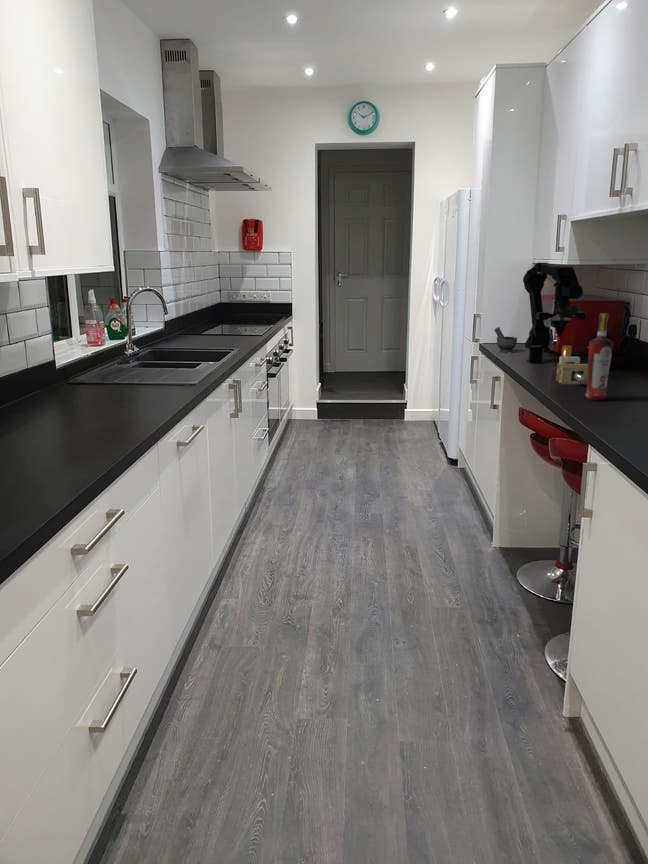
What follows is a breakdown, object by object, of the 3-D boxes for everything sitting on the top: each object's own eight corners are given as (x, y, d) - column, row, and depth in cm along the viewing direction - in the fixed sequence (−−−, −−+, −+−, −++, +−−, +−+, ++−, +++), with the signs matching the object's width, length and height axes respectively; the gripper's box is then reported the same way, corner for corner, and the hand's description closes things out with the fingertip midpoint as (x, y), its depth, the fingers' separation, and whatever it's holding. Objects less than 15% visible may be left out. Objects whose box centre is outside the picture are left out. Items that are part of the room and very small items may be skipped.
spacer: (557, 378, 257) (559, 356, 255) (575, 378, 257) (577, 356, 255) (560, 379, 254) (561, 357, 252) (578, 379, 254) (580, 357, 252)
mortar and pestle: (513, 350, 328) (515, 326, 325) (519, 353, 319) (520, 328, 316) (490, 350, 328) (492, 326, 325) (495, 353, 319) (496, 328, 316)
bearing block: (556, 380, 252) (557, 363, 251) (585, 380, 252) (587, 363, 250) (561, 384, 246) (563, 367, 244) (591, 384, 245) (593, 367, 244)
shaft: (555, 375, 262) (557, 345, 259) (570, 375, 261) (573, 345, 258) (573, 386, 240) (576, 354, 237) (590, 386, 240) (593, 354, 236)
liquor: (599, 396, 225) (608, 312, 218) (611, 401, 218) (621, 314, 211) (579, 397, 224) (587, 313, 216) (591, 402, 217) (599, 315, 209)
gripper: (544, 299, 262) (541, 339, 266) (592, 298, 261) (589, 339, 265) (536, 298, 273) (534, 336, 276) (583, 297, 272) (580, 336, 276)
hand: (559, 337), depth 273 cm, fingers closed
